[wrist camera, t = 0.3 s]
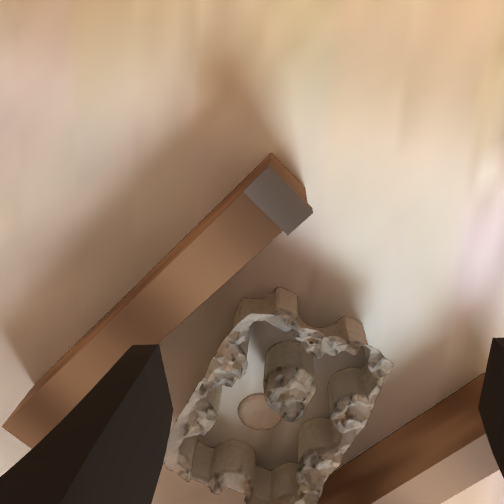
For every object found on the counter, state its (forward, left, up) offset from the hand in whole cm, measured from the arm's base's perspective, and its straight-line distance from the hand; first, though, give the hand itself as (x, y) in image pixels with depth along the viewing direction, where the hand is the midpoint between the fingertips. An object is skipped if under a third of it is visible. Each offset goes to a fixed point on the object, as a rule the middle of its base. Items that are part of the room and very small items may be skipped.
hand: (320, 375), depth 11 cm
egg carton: (-7, -5, -11) cm, 14 cm away
